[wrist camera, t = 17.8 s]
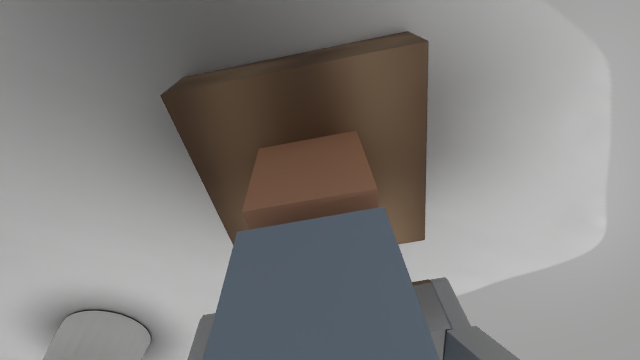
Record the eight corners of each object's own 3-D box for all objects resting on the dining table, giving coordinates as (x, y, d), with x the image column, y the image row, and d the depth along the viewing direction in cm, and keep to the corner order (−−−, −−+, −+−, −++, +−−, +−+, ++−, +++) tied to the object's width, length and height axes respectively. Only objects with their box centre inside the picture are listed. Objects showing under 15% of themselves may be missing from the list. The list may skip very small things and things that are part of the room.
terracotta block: (282, 221, 18) (277, 294, 14) (258, 148, 15) (242, 211, 11) (365, 207, 18) (385, 277, 13) (356, 130, 15) (377, 188, 11)
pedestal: (251, 237, 22) (245, 269, 20) (182, 77, 16) (160, 95, 13) (410, 210, 22) (424, 239, 19) (407, 31, 15) (428, 41, 13)
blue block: (276, 315, 13) (262, 475, 9) (237, 231, 10) (190, 406, 6) (391, 297, 13) (435, 453, 8) (383, 206, 10) (443, 372, 6)
